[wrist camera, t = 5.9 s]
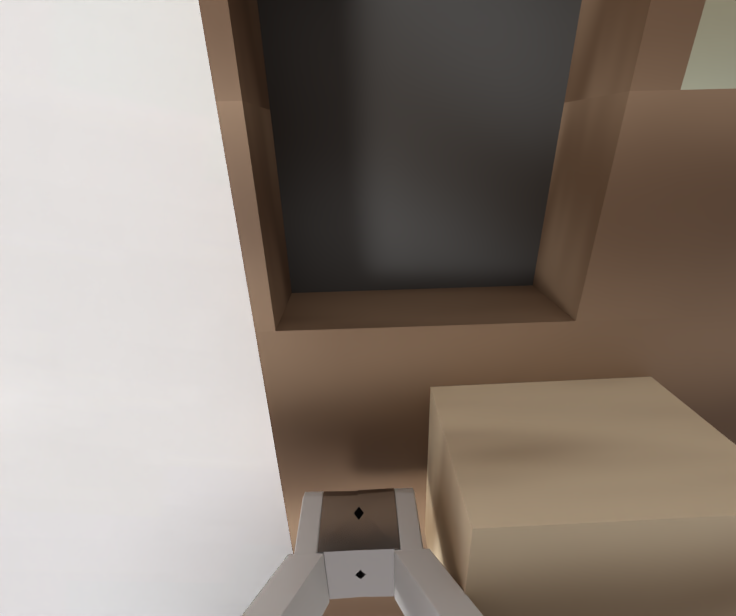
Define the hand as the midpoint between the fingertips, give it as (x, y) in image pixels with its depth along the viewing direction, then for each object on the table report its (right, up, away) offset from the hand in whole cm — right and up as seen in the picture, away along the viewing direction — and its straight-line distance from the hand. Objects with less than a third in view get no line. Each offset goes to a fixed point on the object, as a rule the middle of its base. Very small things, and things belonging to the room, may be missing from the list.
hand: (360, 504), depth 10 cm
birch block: (+5, +1, +1) cm, 5 cm away
